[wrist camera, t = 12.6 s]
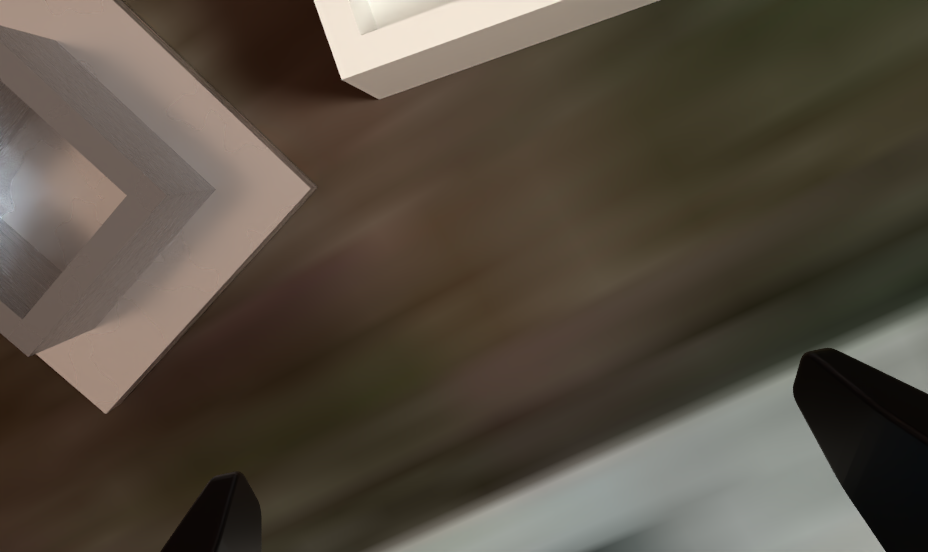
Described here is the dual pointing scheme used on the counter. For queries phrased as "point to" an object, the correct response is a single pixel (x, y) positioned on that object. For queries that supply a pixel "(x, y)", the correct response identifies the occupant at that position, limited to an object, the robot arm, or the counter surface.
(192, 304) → the socket base
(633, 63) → the counter surface
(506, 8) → the bin
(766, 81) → the counter surface
